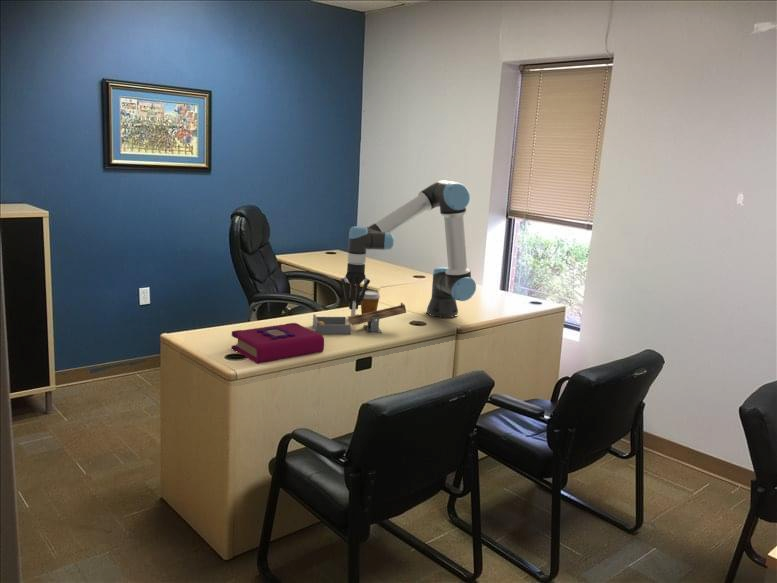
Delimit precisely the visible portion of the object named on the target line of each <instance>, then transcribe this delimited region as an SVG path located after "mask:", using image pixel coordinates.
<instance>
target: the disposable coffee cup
mask: <svg viewBox="0 0 777 583" xmlns="http://www.w3.org/2000/svg"><path fill="white" fill-rule="evenodd" d="M360 294H361V292H359V295H360ZM380 298H381V294H380V292H378V291H375V290H366V292H365V295H364V298H363V301H360V308H361V309H360V311H361V314H365V313H368V312H374V311H378V306H379V301H380ZM361 314H360V315H361Z"/></svg>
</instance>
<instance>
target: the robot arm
mask: <svg viewBox="0 0 777 583" xmlns="http://www.w3.org/2000/svg"><path fill="white" fill-rule="evenodd" d="M470 200H471V194H470V191H469V189H468V187H466V185H465V184H464V183H461V182H457V181H449V180H439V181H436V182H434V183H432V184H431V185H428V186H427V187H425V188H424V189H422V190H421V191H418V195H417V196H415V197H414V198H412V199H410V200H409V201H408V202H406V203H405V204H403V205H401V206H400V207H398V208H397V209H394V211H392V212H391V213H389V214H387V215H385V216H384V217H382V218H381V219H378V221H376V222H375V223H373V224H371V225H370V226H356V225H355V226H351V227H350V228H349V233H348V252H347V253H348V254H347V262H348V263H347V267H346V269H347V270H346V274H345V276H344V277H340V282H341V283H342V287H343V293H344V294H343V295H344V298H345V301H347V302H349V303H348V309H349V310H350V316H351V317H352V316H355V315H356V310H359V302H360V303H361V301H363V298H364V295H365V292H366V291H367V288H368V286H369V284H371V283H370V282H371V280H370V278H367V277H366V274H365V273H366V272H365V271H366V270H365V269H366V256H367V254H366V253H367V250H383V251H386V250H388V251H389V250H391V249H392V248H393V247H394V243H395V240H394V234H393V232H394V231H396V230H397V229H399V228H401V227H402V226H404V225H405V224H406V223H409V222H410V221H411V220H413V219H414V218H416V217H417V216H419V215H421V214H423V213H424V212H425V211H431V210H433V209H435V208H438V207H439V212H440V215H441V216H442V217H443V218H444V220H443V222H444V231H445V233H444V235H445V242H446V243H445V244H446V246H445V247H446V256H447V257H446V258H447V266H446V267H445V266H444V267H443V266H441V267H435V268H433V272H432V284H431V285H432V287H431V296H430V297H431V298H430V301H429V302H428V304H427V308H426V314H427V313H428V314H427V315H429V314H431V315H434V316H433V317H435V316H441V317H440V318H442V317H451V316H455V315H457V314H458V315H459V309H458V306H457V305H458V304H457V301H459V302H465V301H469V299H471V298H472V297H473V296H474V295H475V292H476V290H477V289H476V288H477V283H476V282H475V280H474V279H473V278H472V272H471V268H469V267H468V265H467V262H468V261H467V253H466V252H467V250H466V248H467V247H466V235H465V222H464V221H465V220H464V215H465V214H466V213H467V206H468V204H469V203H470ZM347 281H348V283H349V292H348V287H347ZM362 283H363V286H362V288H361V291H360V287H361V284H362ZM354 290H355V291H354ZM354 293H355V298H354ZM360 293H361V294H360ZM431 315H430V316H431Z"/></svg>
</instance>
